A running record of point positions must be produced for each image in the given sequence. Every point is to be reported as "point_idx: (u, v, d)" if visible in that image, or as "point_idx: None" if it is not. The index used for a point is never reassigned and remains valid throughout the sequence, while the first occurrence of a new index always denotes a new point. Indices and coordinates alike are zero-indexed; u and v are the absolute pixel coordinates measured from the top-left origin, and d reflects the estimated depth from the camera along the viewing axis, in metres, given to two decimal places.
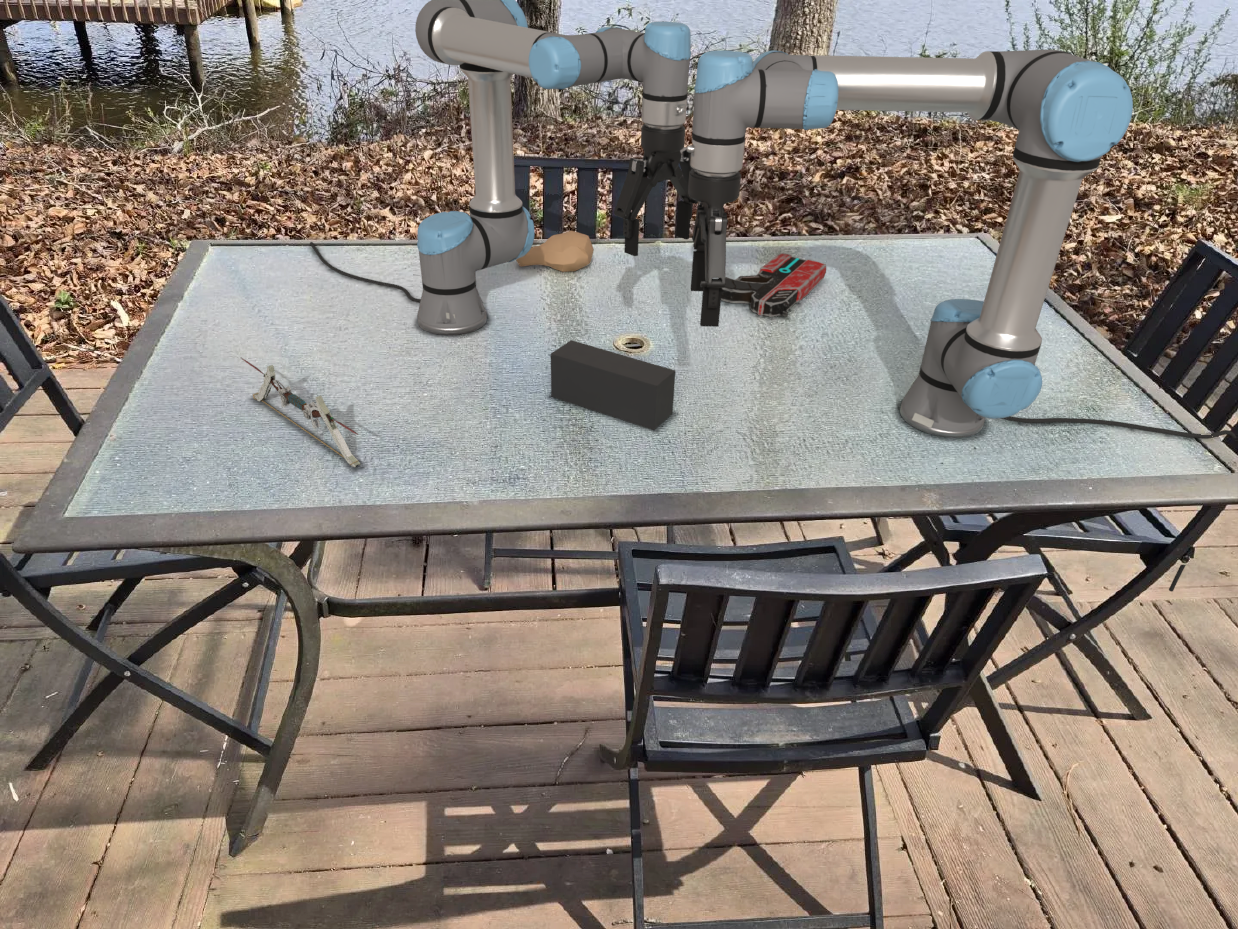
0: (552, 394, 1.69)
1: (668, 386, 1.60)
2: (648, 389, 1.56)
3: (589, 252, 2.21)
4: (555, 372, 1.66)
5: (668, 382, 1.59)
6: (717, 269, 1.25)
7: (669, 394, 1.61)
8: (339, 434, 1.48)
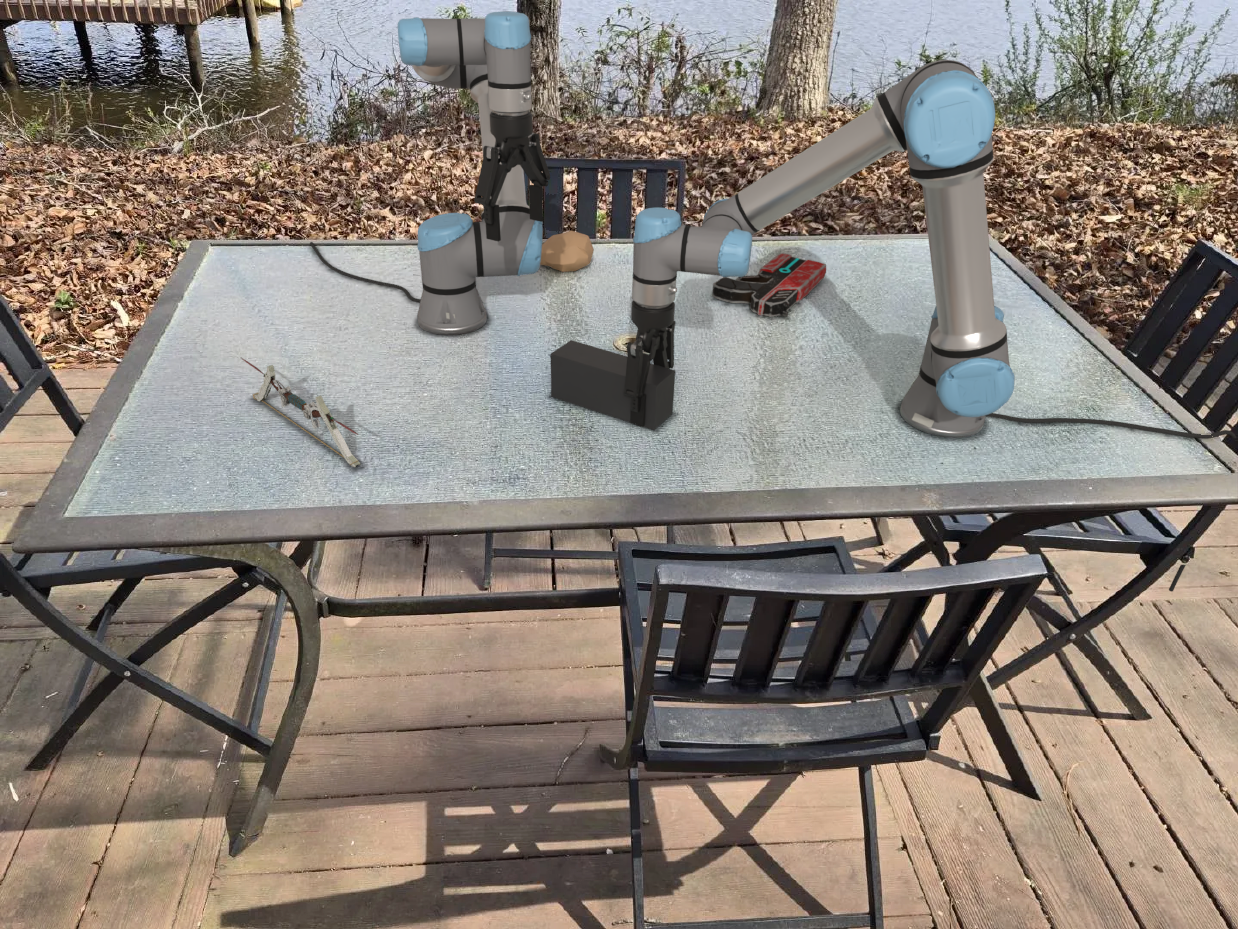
0: (552, 394, 1.69)
1: (668, 386, 1.60)
2: (648, 389, 1.56)
3: (589, 252, 2.21)
4: (555, 372, 1.66)
5: (668, 382, 1.59)
6: None
7: (669, 394, 1.61)
8: (339, 434, 1.48)
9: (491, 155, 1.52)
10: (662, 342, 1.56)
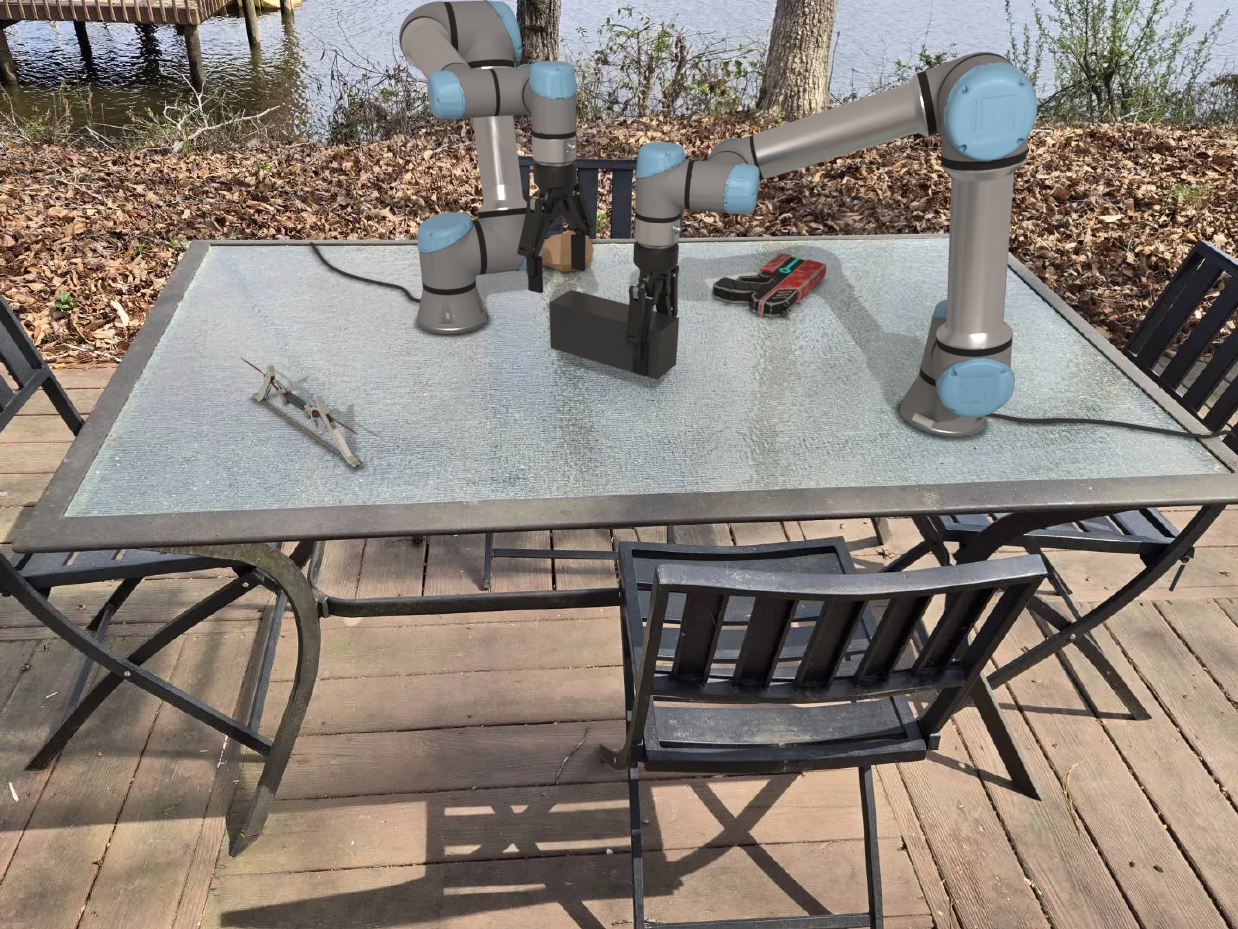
0: (551, 345, 1.63)
1: (672, 333, 1.54)
2: (650, 335, 1.51)
3: (589, 252, 2.21)
4: (554, 322, 1.60)
5: (672, 329, 1.53)
6: None
7: (673, 343, 1.55)
8: (339, 434, 1.48)
9: (535, 206, 1.48)
10: (665, 287, 1.50)
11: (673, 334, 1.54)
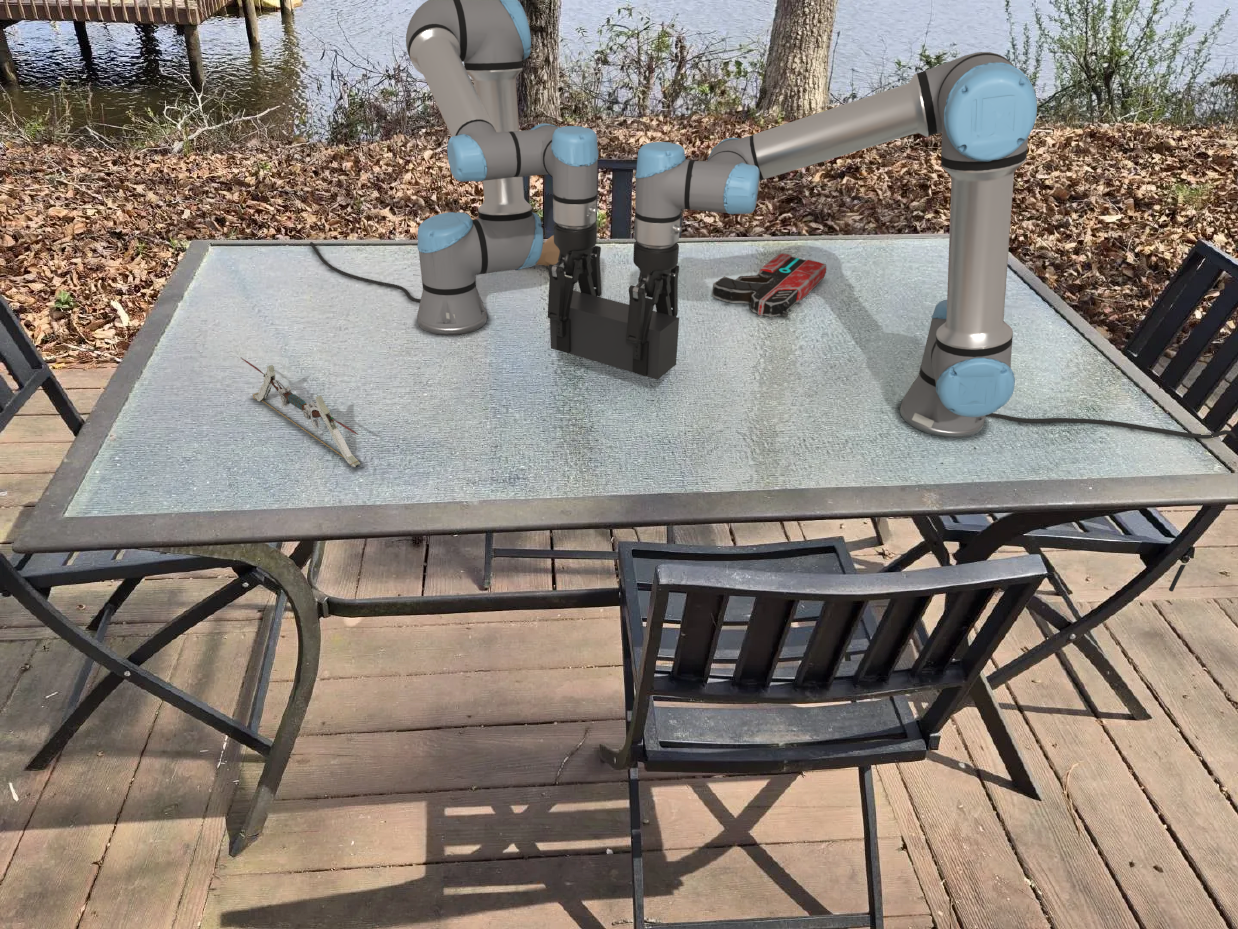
0: (551, 345, 1.63)
1: (672, 333, 1.54)
2: (650, 335, 1.51)
3: None
4: (554, 322, 1.60)
5: (672, 329, 1.53)
6: None
7: (673, 343, 1.55)
8: (339, 434, 1.48)
9: (557, 275, 1.51)
10: (665, 287, 1.50)
11: (673, 334, 1.54)
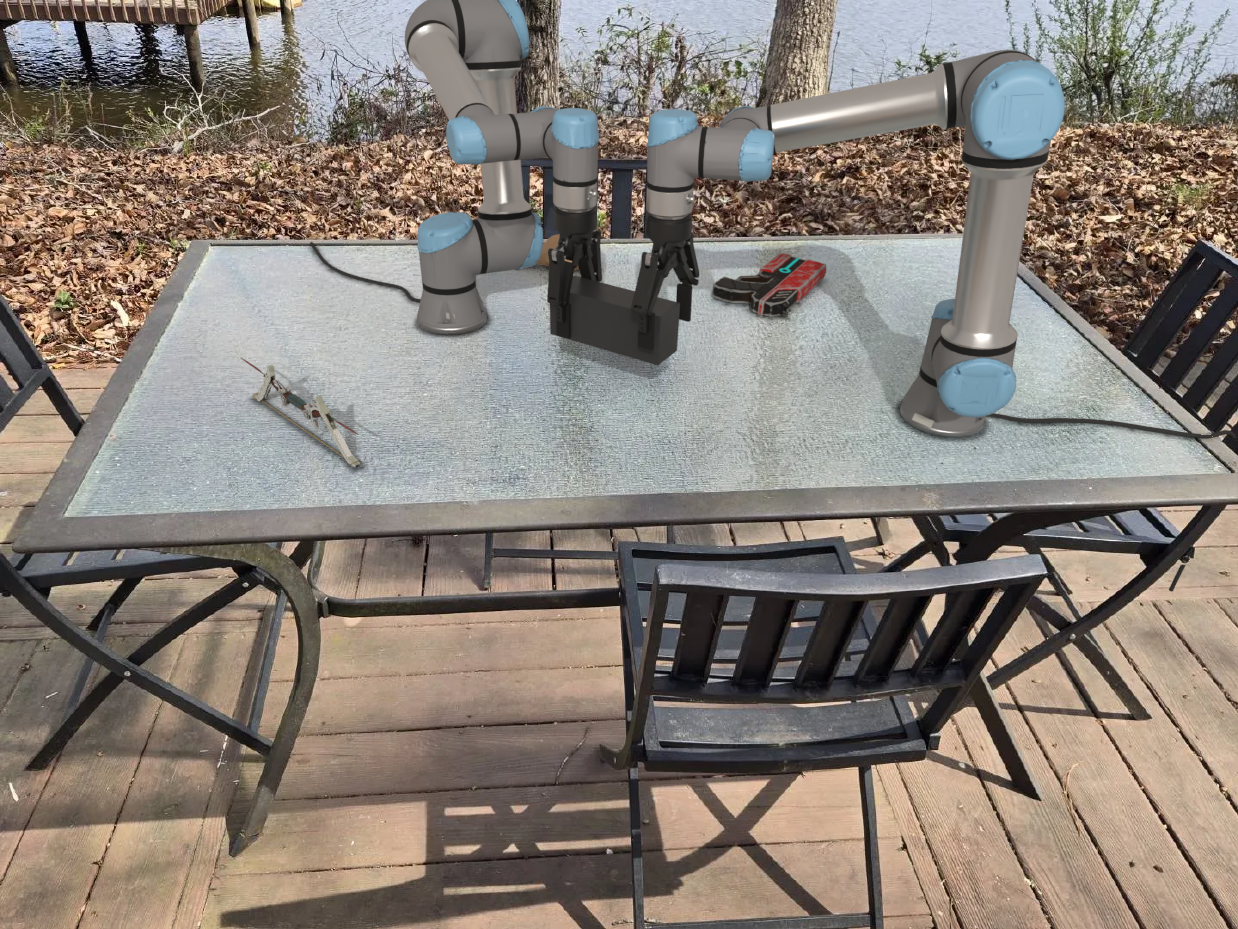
0: (551, 331, 1.62)
1: (673, 318, 1.52)
2: None
3: None
4: (554, 307, 1.59)
5: (673, 314, 1.52)
6: None
7: (674, 328, 1.54)
8: (339, 434, 1.48)
9: (557, 259, 1.50)
10: (681, 258, 1.47)
11: (674, 319, 1.53)
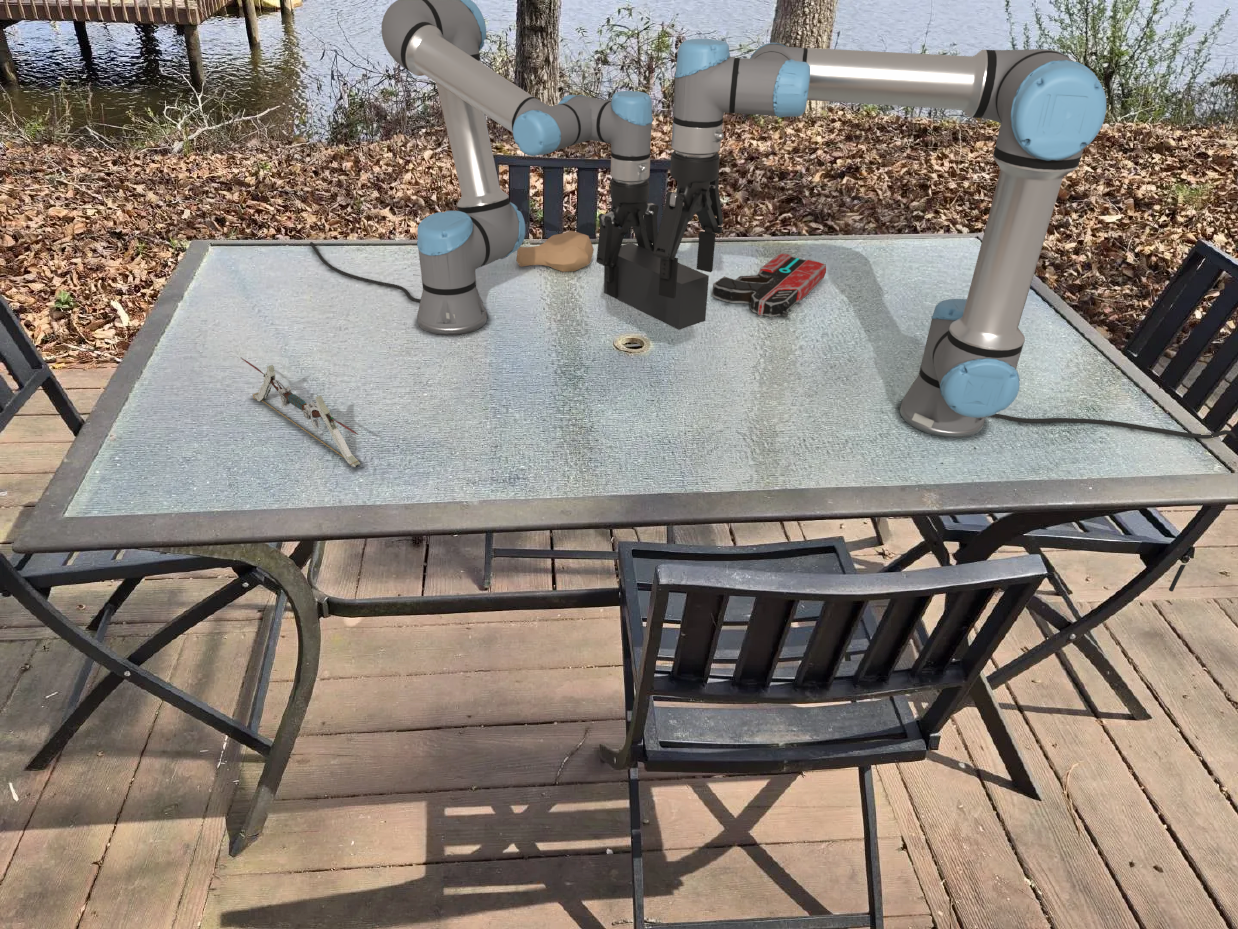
0: (604, 290, 1.81)
1: (699, 289, 1.66)
2: None
3: (589, 252, 2.21)
4: None
5: (698, 285, 1.65)
6: None
7: (701, 298, 1.67)
8: (339, 434, 1.48)
9: (605, 223, 1.69)
10: (705, 202, 1.39)
11: (700, 290, 1.66)
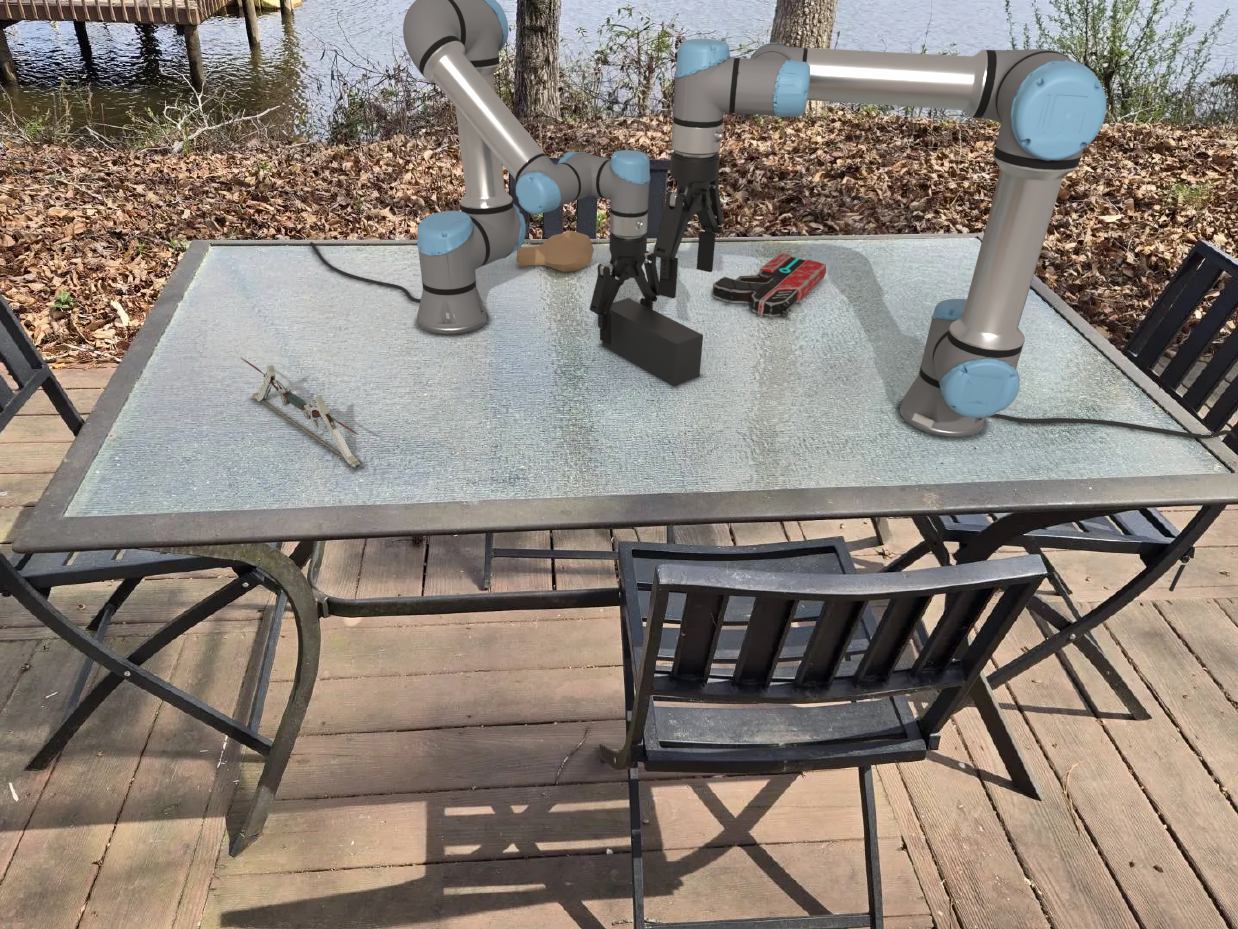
0: (603, 343, 1.88)
1: (693, 348, 1.73)
2: (670, 346, 1.71)
3: (589, 252, 2.21)
4: None
5: (693, 344, 1.72)
6: None
7: (695, 356, 1.75)
8: (339, 434, 1.48)
9: (603, 273, 1.74)
10: (705, 202, 1.39)
11: (695, 348, 1.73)
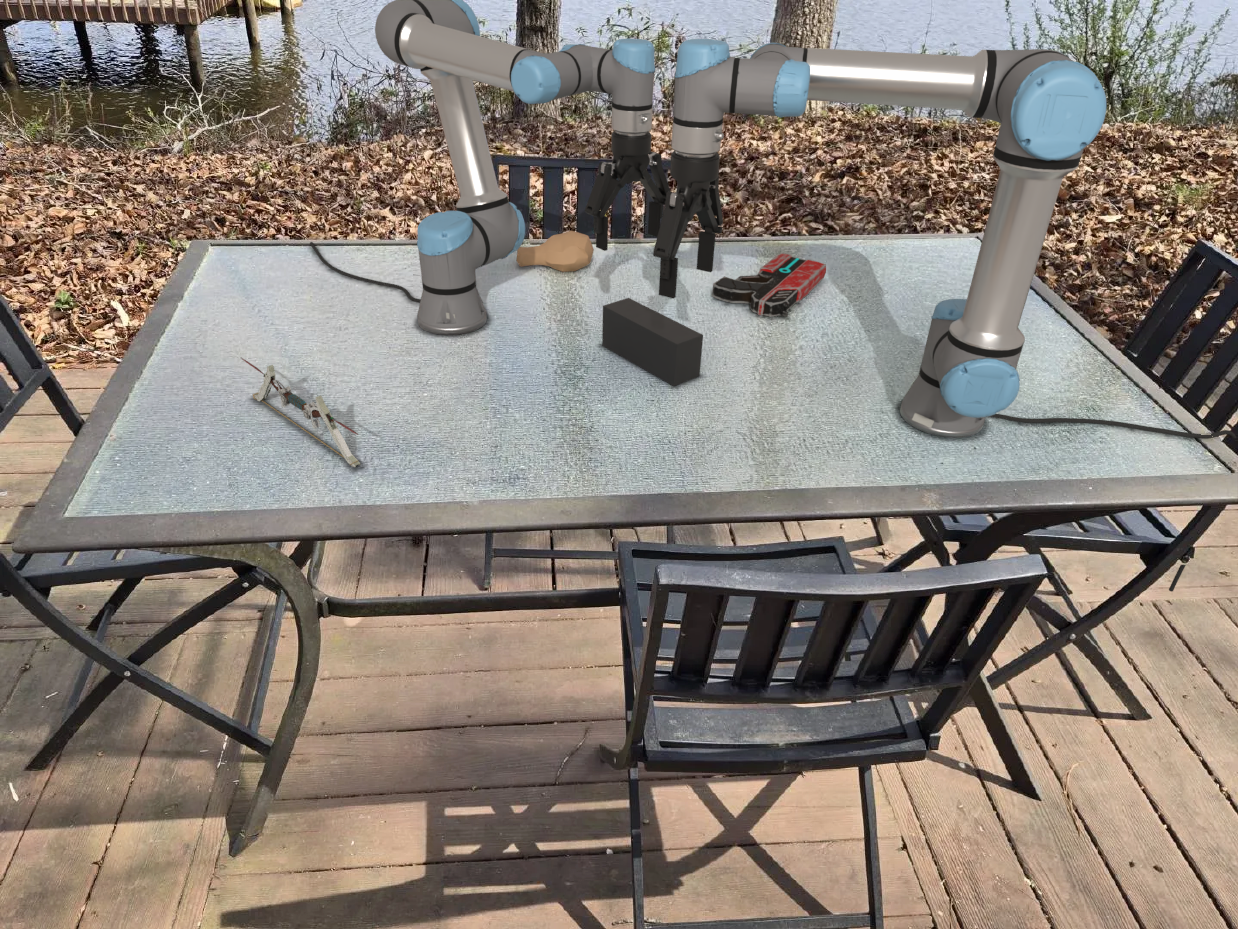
0: (603, 343, 1.88)
1: (693, 348, 1.73)
2: (670, 346, 1.71)
3: (589, 252, 2.21)
4: (605, 323, 1.85)
5: (693, 344, 1.72)
6: None
7: (695, 356, 1.75)
8: (339, 434, 1.48)
9: (604, 170, 1.63)
10: (705, 202, 1.39)
11: (695, 348, 1.73)
